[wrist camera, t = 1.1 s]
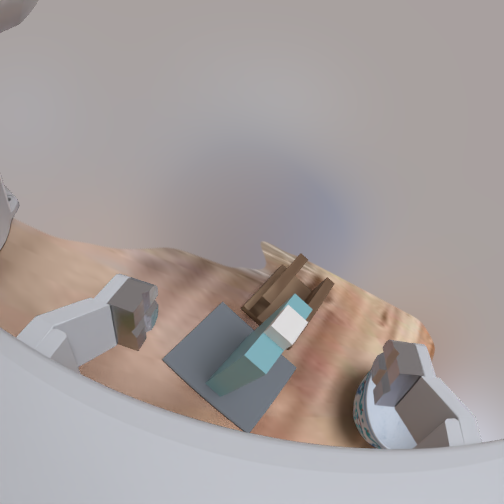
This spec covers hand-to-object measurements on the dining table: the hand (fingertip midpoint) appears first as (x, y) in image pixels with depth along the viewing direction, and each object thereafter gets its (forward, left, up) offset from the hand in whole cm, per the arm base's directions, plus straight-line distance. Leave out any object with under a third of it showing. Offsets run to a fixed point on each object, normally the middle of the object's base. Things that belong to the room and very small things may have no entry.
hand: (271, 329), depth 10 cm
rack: (+3, +23, -28) cm, 37 cm away
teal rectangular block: (+3, +10, -28) cm, 30 cm away
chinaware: (+25, +18, -28) cm, 42 cm away
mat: (+3, +10, -28) cm, 30 cm away
